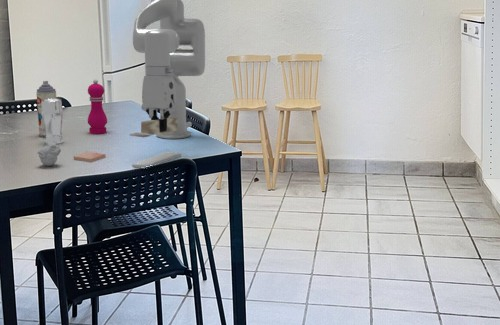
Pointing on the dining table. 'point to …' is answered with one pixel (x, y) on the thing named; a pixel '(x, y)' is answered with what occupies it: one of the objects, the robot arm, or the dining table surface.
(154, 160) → the board
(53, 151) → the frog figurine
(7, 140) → the dining table surface
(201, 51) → the robot arm
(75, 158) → the tile
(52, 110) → the beer glass
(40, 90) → the aerosol can
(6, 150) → the dining table surface
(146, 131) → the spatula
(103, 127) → the pepper mill
